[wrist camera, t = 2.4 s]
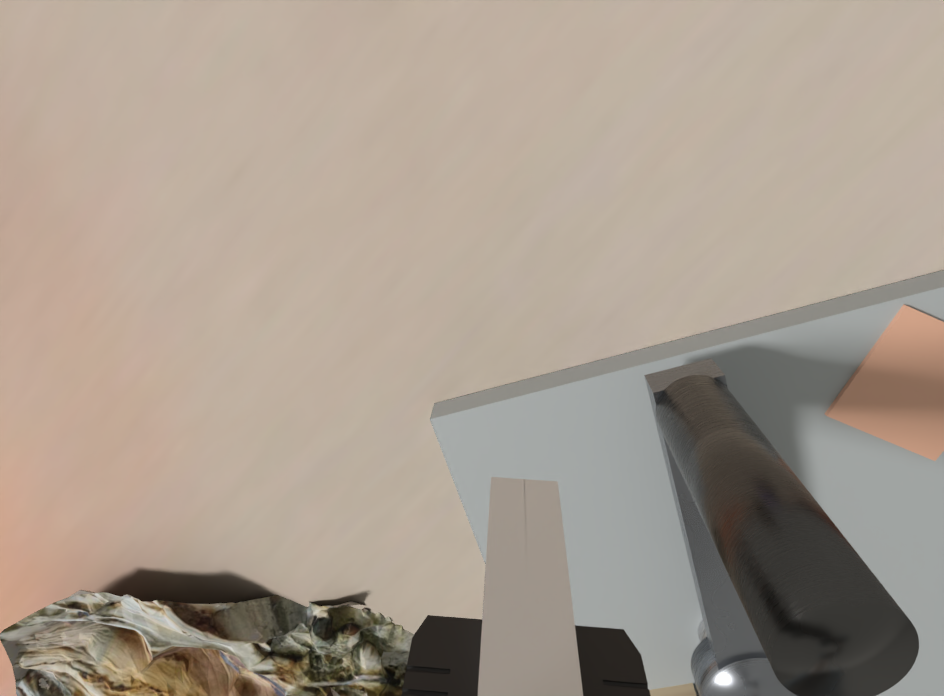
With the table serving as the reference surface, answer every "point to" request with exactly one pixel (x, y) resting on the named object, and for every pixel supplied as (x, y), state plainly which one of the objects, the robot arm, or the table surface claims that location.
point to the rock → (205, 649)
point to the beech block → (675, 691)
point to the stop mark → (900, 386)
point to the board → (648, 486)
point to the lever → (768, 559)
